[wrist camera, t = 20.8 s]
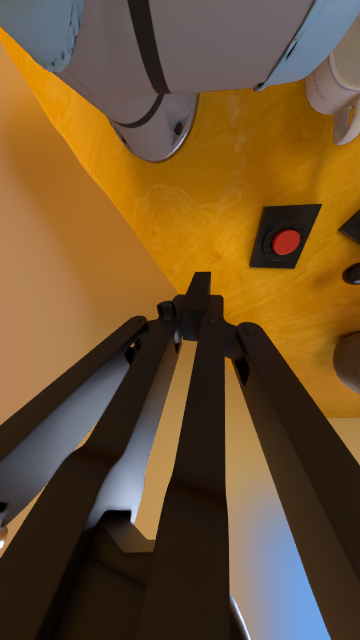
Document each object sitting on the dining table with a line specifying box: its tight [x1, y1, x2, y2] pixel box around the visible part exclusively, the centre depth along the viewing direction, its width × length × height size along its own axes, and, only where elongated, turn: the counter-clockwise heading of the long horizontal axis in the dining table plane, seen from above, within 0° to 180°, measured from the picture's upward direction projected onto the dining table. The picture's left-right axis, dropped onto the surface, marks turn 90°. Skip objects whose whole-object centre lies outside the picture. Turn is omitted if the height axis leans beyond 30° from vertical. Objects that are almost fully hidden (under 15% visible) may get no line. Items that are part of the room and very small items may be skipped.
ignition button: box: [272, 229, 300, 255], centre depth 27 cm, size 4×4×2 cm
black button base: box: [249, 204, 322, 269], centre depth 29 cm, size 11×9×4 cm
